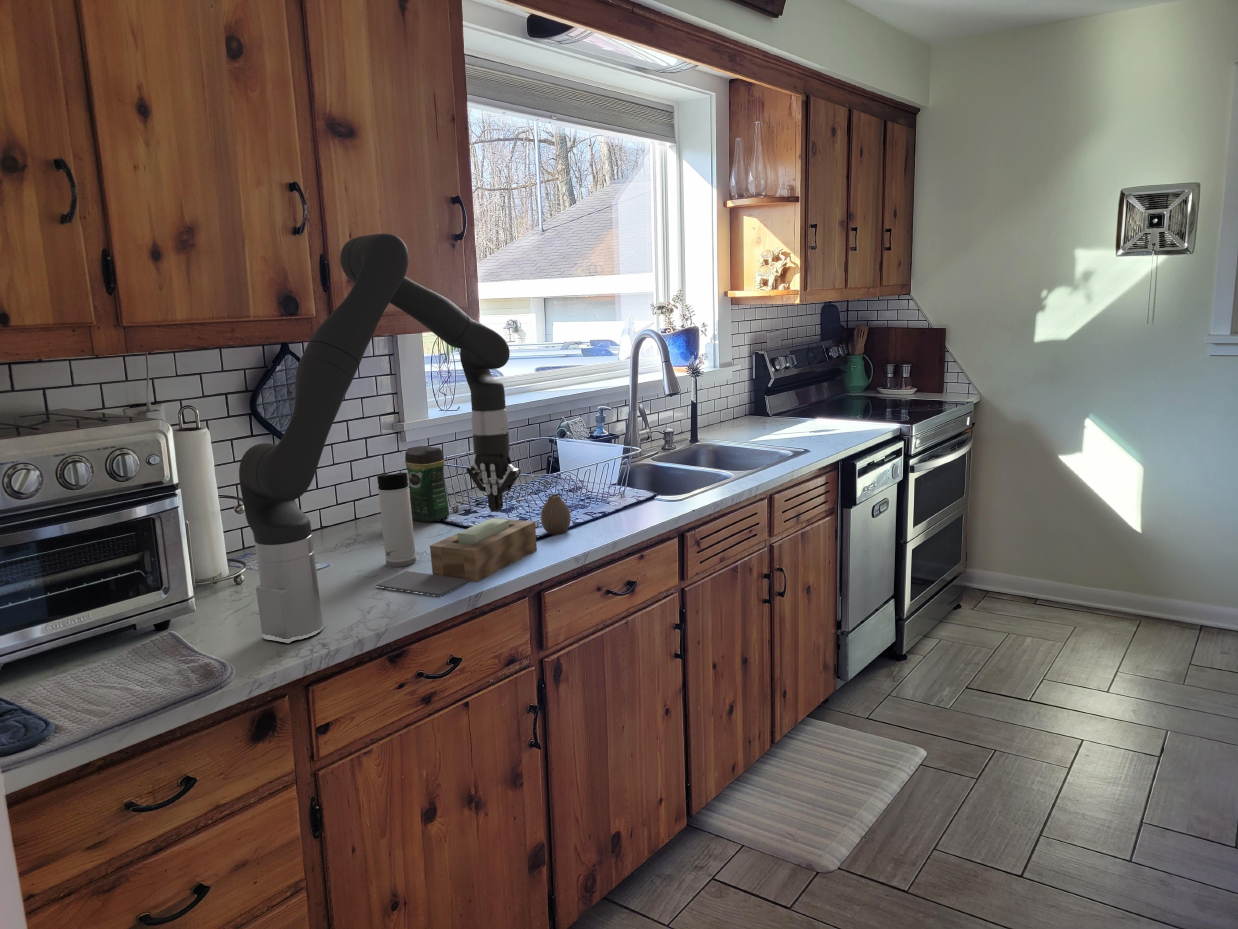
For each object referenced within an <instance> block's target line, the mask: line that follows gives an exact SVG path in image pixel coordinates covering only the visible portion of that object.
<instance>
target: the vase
mask: <svg viewBox="0 0 1238 929" xmlns="http://www.w3.org/2000/svg"><path fill="white" fill-rule="evenodd" d="M570 511H571V510H570V509H569V506H568V504H566V503H565V501H564V500H563V499H562V498H561V496H560V494H550V495H549V496H548V498H547V500H546V502H545V503H544V505H543V507H542V509H541V512H540V523H541V525H542V528H543V530H544V531H545V532H546V533H547V534H549V535H561V534H564V533H566V532H567V531H568V530H569V528H570V525H571V512H570Z"/></svg>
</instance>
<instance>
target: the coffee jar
mask: <svg viewBox="0 0 1238 929" xmlns="http://www.w3.org/2000/svg"><path fill="white" fill-rule="evenodd" d="M404 453H405V454H404V455H405V456H404V458H405V459H404V463H405V466H406V469H407V476H408V485H409V493H410V503H411V513H412V520H415V521H420V522H426V523H431V522H436V521H437V522H440V520H441V519H443V518H445V517H446V518H448V517H449V516H450V508H449V503H448V495H447V491H446V482H445V475H444V474H445V473H444V472H445V471H444V468H445V467H444V466H445V457H444V452H443V450H442V449H441V448H440V447H433V446H426V445H418V446H412V447H408V448H407V449H406V451H405V452H404ZM446 518H445V519H446ZM443 520H444V519H443ZM441 521H442V520H441Z"/></svg>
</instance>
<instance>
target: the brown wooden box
mask: <svg viewBox="0 0 1238 929" xmlns="http://www.w3.org/2000/svg"><path fill="white" fill-rule="evenodd" d="M494 518H495V519H501V518H498V517H494ZM504 519H505V520H509V527H510V528H507V529H505V530H503V531H501V532H499V533H497V534H495V535H492V536H490V537H488V538H486V539H484V540H482V541H480V542H477V543H475V544H473V545H469V544H460V543H458V534H457V533H455V534H452V535H451V536H448V537H446V538H444V539H442V540H440V541H437V542H435V543H432V544H431V545H429V549H430V550H429V551H430V552H429V553H430V559H431V562H430V563H431V571H432V573H431V574H433V575H440V576H448V577H455V578H463V579H469V582H474V583H478V582H481V581H482V580H485V579H486V578H488V577H489V576H491V575H493V574H496V573H497V572H499V571H501V570H503V569H505V568H507V567H509V566H510V565H512V564H515V563H516V562H518V561H520V560H522V559H524V558H525V557H528V556H530V555H531V554H533V553H535V552H537V551H538V548H537V547H538V546H537V532H536V530H537V529H536V521H531V520H520V519H519V520H518V519H508V518H507V519H506V518H504Z"/></svg>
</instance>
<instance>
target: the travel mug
mask: <svg viewBox="0 0 1238 929" xmlns="http://www.w3.org/2000/svg"><path fill="white" fill-rule="evenodd" d="M376 477H377V478H376V479H377V485H378V486H377V487H378V490H377V491H378V499H379V506H380V507H379V508H380V517H381V518H380V519H381V527H382V536H383V544H384V553H385V562H386V563H385V564H386V565H387V566H389V567H392V568H400V567H407V566H412V565H413V564H415V563H416V561H417V555H416V544H415V535H414V527H413V526H414V525H413V524H414V523H413V519H412V513H411V503H410V490H409V476H408V472H395V473H390V474H388V473H386V474H385V473H384V474H379V475H377V476H376Z"/></svg>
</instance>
